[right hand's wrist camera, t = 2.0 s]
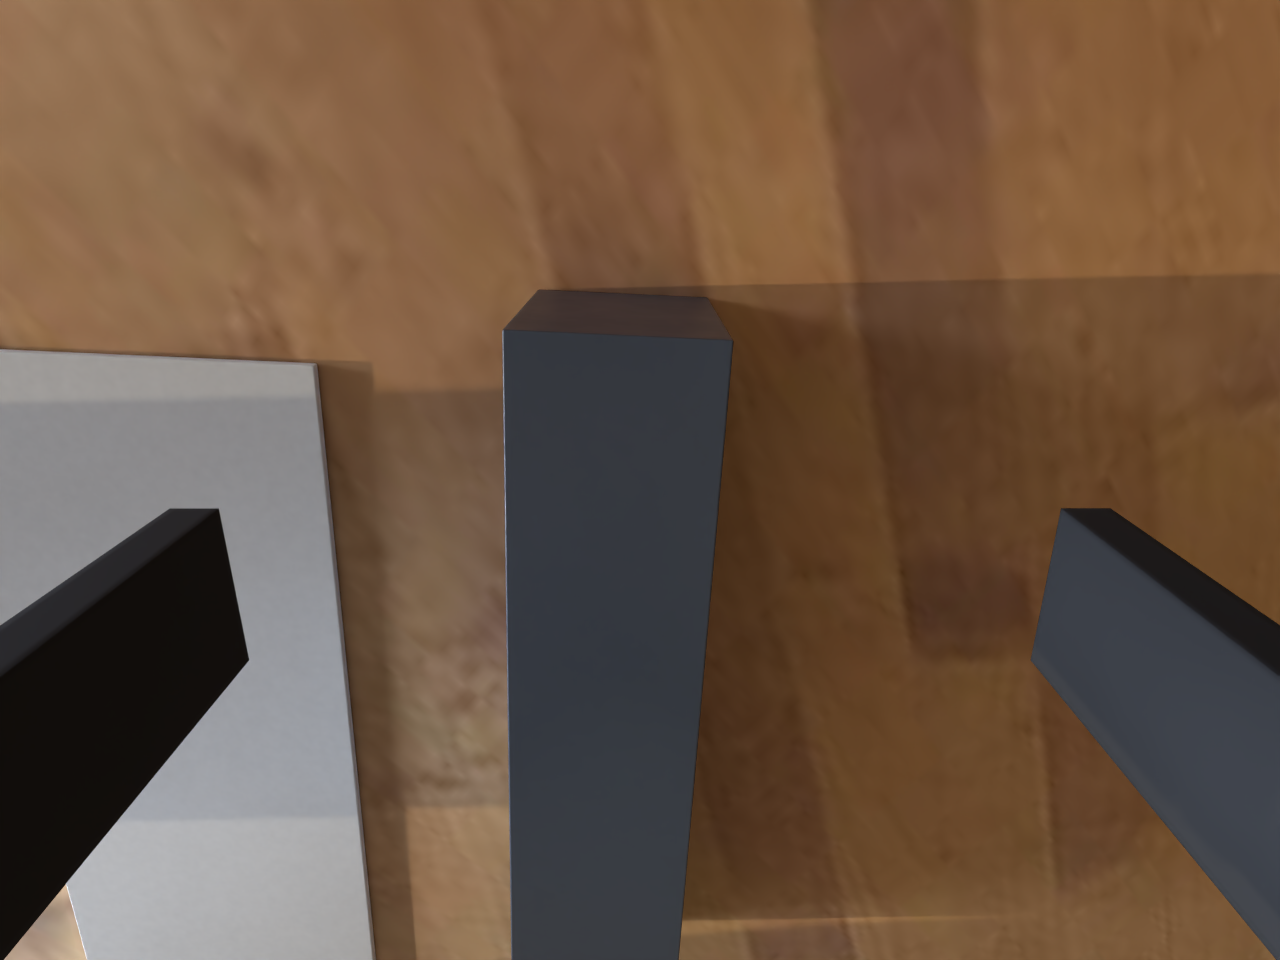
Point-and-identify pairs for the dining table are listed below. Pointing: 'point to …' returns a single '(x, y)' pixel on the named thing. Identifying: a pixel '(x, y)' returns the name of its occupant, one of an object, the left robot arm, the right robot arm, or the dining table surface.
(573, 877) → the beam
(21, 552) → the mat
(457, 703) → the dining table surface
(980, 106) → the dining table surface
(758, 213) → the dining table surface
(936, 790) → the dining table surface
